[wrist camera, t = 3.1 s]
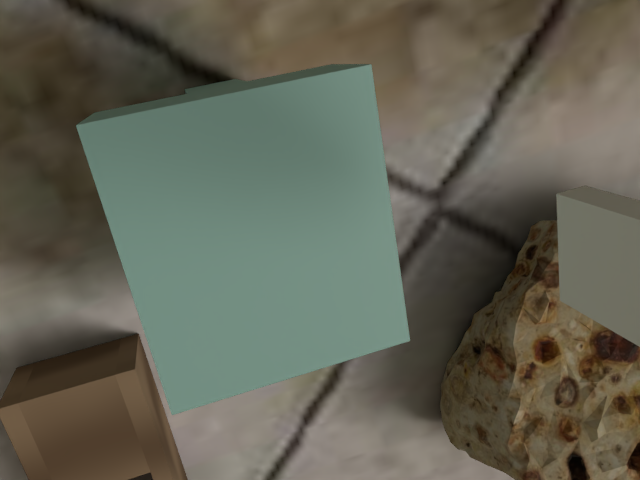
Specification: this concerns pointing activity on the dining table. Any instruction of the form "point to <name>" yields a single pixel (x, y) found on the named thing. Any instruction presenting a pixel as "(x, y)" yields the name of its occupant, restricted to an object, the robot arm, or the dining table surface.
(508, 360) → the rock
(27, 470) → the rail
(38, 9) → the dining table surface
